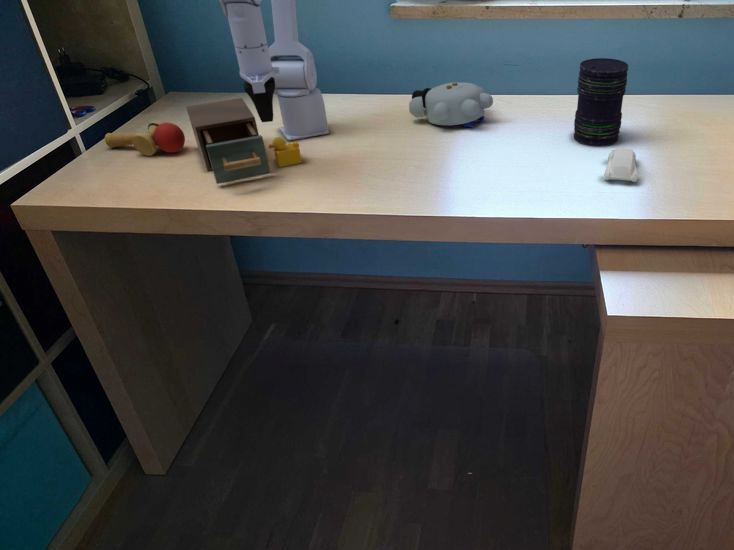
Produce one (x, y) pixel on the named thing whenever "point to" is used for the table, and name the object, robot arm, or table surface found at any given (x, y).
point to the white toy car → (621, 165)
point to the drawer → (235, 152)
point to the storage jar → (600, 101)
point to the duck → (286, 152)
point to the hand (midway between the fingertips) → (267, 120)
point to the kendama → (150, 138)
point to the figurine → (451, 104)
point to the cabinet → (217, 120)
